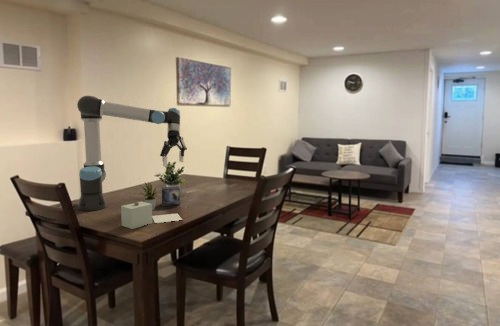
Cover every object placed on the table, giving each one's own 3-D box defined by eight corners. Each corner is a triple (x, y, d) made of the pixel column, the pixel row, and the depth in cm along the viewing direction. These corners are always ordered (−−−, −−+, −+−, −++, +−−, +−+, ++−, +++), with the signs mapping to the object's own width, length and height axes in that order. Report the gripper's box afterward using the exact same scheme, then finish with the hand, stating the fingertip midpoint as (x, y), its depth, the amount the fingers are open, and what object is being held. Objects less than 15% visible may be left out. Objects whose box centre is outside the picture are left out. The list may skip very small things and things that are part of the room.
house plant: (131, 208, 211) (130, 180, 209) (152, 204, 221) (152, 177, 218) (143, 213, 201) (142, 184, 199) (165, 209, 210) (164, 181, 208)
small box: (162, 206, 216) (161, 189, 215) (161, 203, 222) (161, 187, 221) (180, 205, 219) (179, 188, 217) (179, 202, 225) (178, 186, 224)
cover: (132, 229, 174) (131, 206, 173) (121, 225, 180) (120, 203, 178) (152, 223, 184) (151, 201, 182) (142, 220, 189) (141, 198, 187)
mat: (155, 223, 183) (155, 222, 183) (151, 216, 195) (151, 215, 195) (182, 220, 189) (182, 219, 189) (177, 214, 200) (177, 213, 200)
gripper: (192, 128, 223) (192, 161, 217) (163, 138, 236) (162, 169, 229) (184, 124, 217) (183, 158, 211) (155, 135, 230) (153, 166, 223)
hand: (173, 164), depth 220 cm, fingers open, 13 cm apart
